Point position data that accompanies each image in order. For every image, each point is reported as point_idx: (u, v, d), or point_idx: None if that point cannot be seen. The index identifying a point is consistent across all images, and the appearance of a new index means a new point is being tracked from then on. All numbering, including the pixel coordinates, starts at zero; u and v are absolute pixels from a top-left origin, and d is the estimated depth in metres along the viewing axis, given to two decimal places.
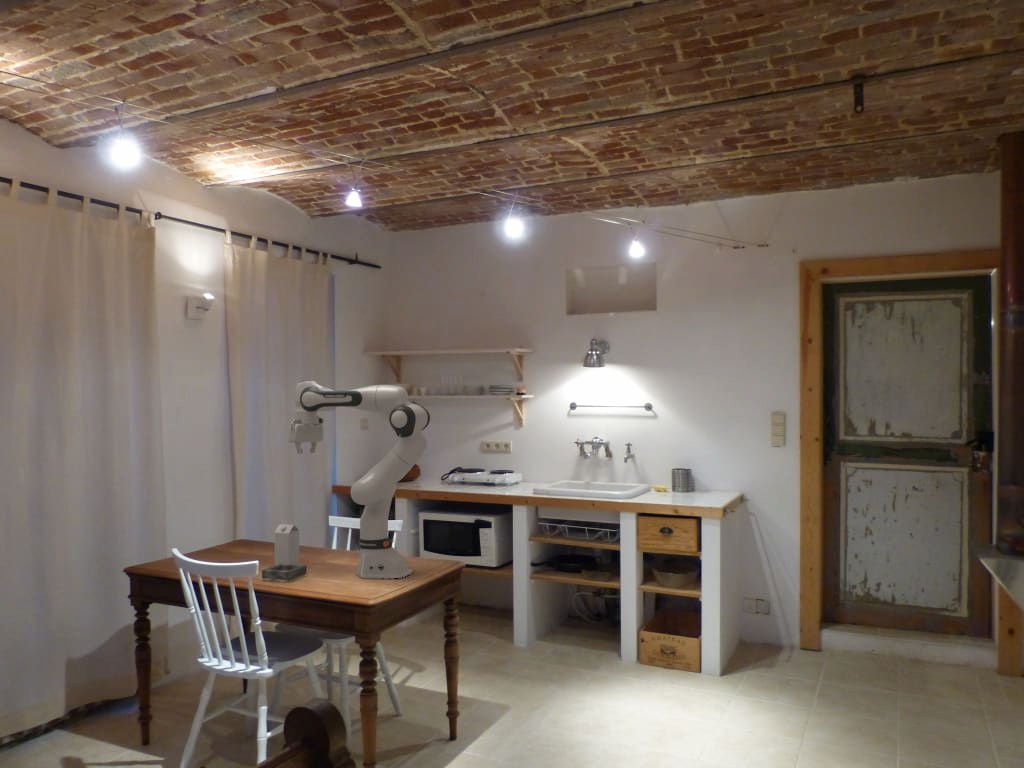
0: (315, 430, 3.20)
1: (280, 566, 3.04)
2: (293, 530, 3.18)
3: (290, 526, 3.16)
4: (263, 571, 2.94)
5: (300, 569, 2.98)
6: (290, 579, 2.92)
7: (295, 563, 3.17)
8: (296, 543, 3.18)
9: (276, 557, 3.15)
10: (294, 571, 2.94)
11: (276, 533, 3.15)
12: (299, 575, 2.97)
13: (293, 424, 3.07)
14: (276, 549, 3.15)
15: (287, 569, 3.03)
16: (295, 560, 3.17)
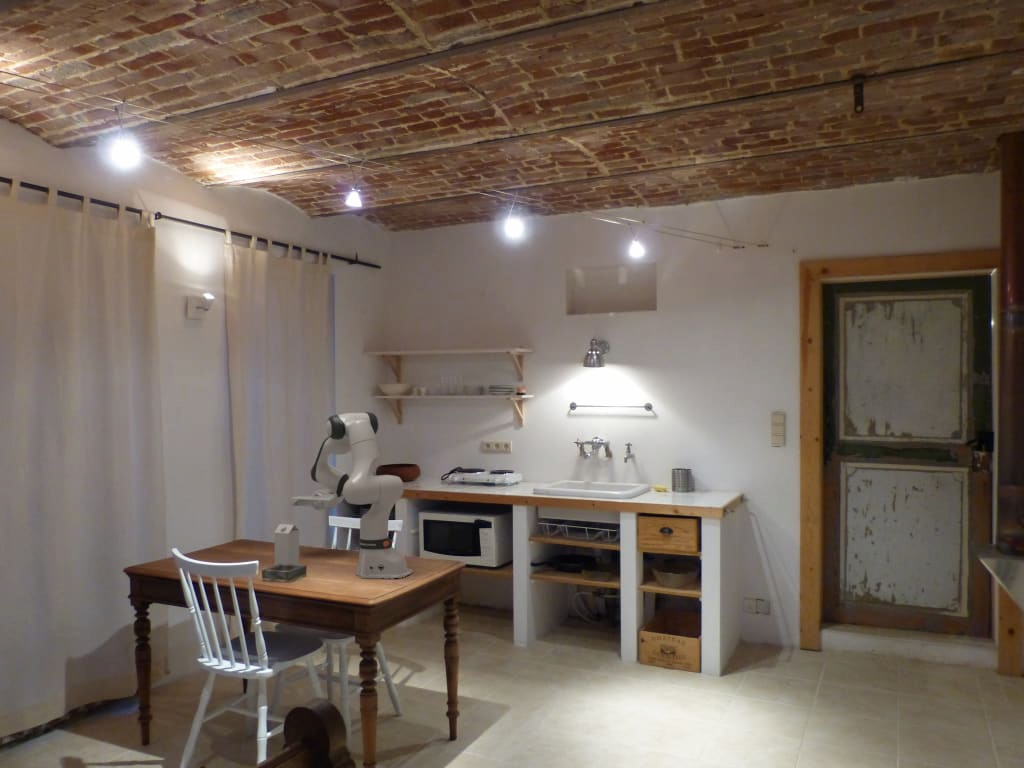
0: (323, 498, 3.38)
1: (280, 566, 3.04)
2: (293, 530, 3.18)
3: (290, 526, 3.16)
4: (263, 571, 2.94)
5: (300, 569, 2.98)
6: (290, 579, 2.92)
7: (295, 563, 3.17)
8: (296, 543, 3.18)
9: (276, 557, 3.15)
10: (294, 571, 2.94)
11: (276, 533, 3.15)
12: (299, 575, 2.97)
13: None
14: (276, 549, 3.15)
15: (287, 569, 3.03)
16: (295, 560, 3.17)
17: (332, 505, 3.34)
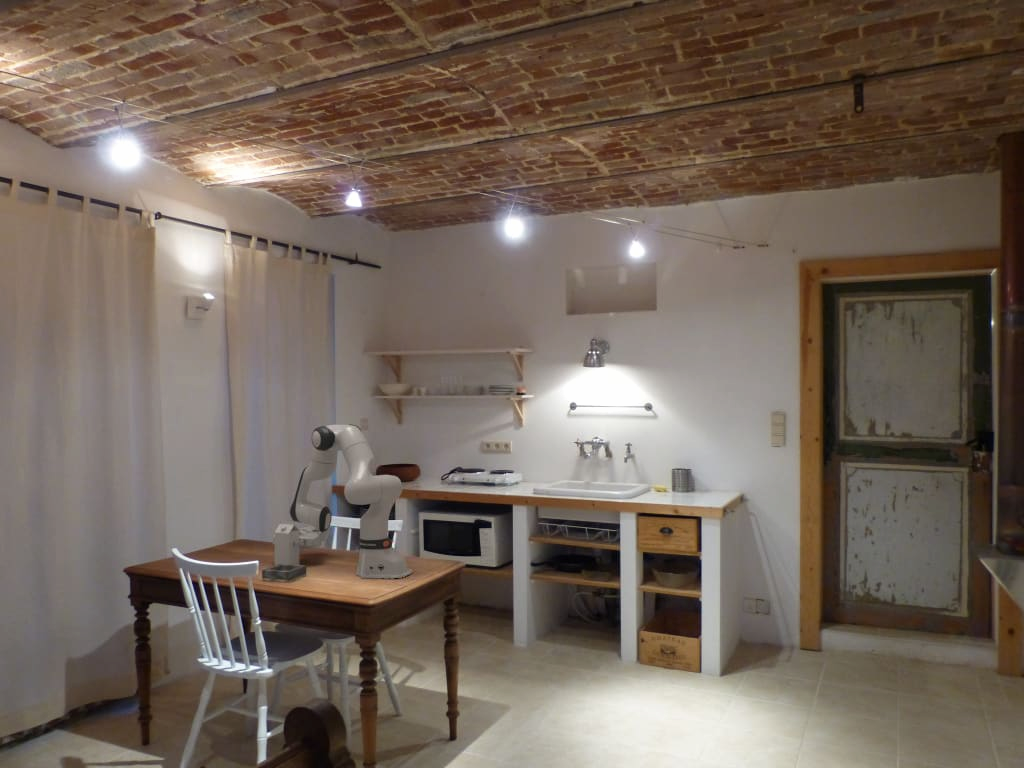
0: (307, 536, 3.25)
1: (280, 566, 3.04)
2: (293, 530, 3.18)
3: (290, 526, 3.16)
4: (263, 571, 2.94)
5: (300, 569, 2.98)
6: (290, 579, 2.92)
7: (295, 563, 3.17)
8: None
9: (276, 557, 3.15)
10: (294, 571, 2.94)
11: (276, 533, 3.15)
12: (299, 575, 2.97)
13: None
14: (276, 549, 3.15)
15: (287, 569, 3.03)
16: (295, 560, 3.17)
17: (316, 544, 3.21)
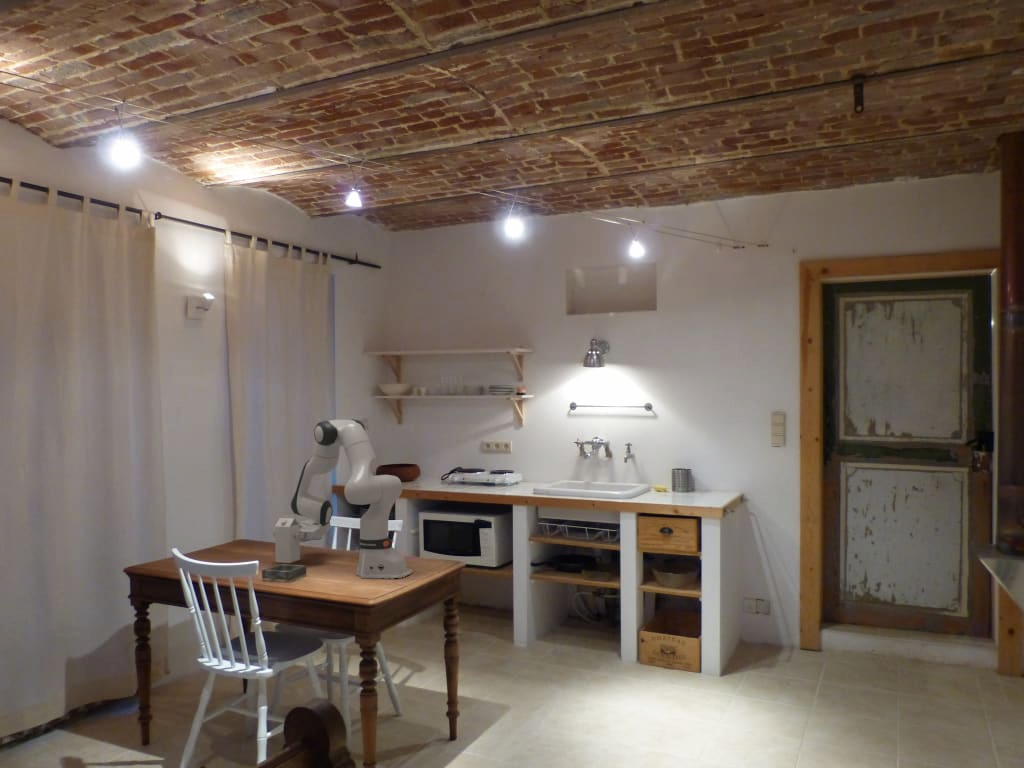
0: (307, 529, 3.25)
1: (280, 566, 3.04)
2: (293, 524, 3.18)
3: (290, 520, 3.16)
4: (263, 571, 2.94)
5: (300, 569, 2.98)
6: (290, 579, 2.92)
7: (296, 557, 3.17)
8: None
9: (277, 551, 3.15)
10: (294, 571, 2.94)
11: (276, 527, 3.15)
12: (299, 575, 2.97)
13: None
14: (277, 543, 3.15)
15: (287, 569, 3.03)
16: (296, 554, 3.17)
17: (316, 537, 3.21)
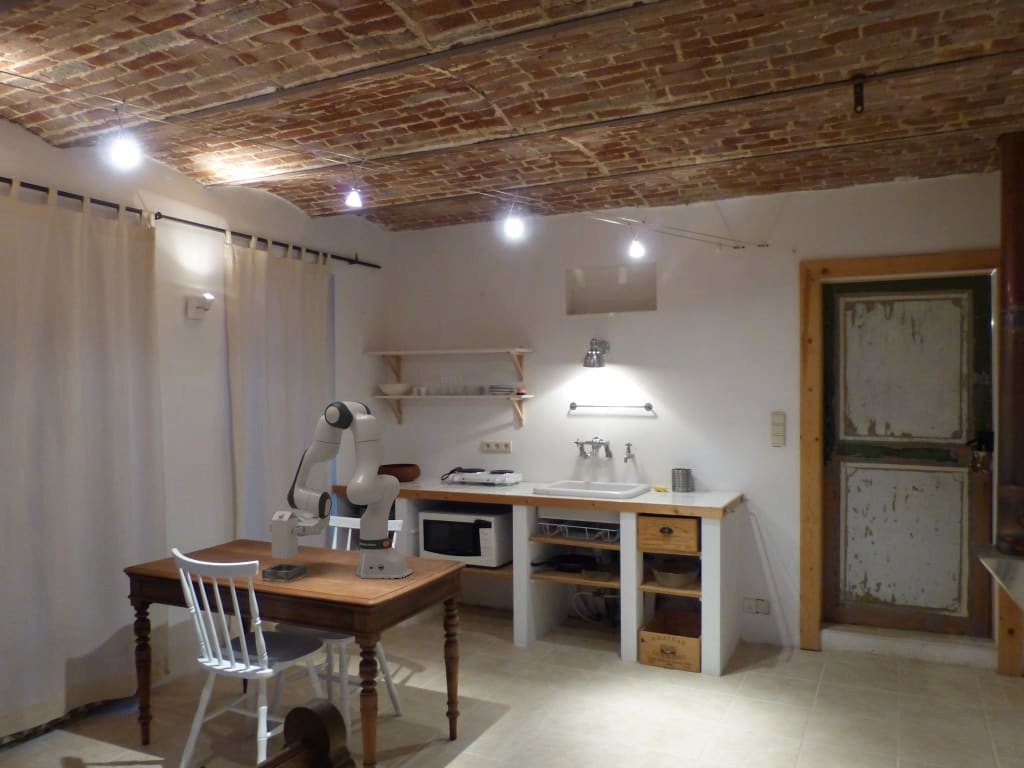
0: (306, 523, 3.06)
1: (280, 566, 3.04)
2: (291, 517, 2.99)
3: (288, 513, 2.97)
4: (263, 571, 2.94)
5: (300, 569, 2.98)
6: (290, 579, 2.92)
7: (293, 552, 2.98)
8: None
9: (273, 546, 2.96)
10: (294, 571, 2.94)
11: (273, 520, 2.96)
12: (299, 575, 2.97)
13: None
14: (273, 537, 2.96)
15: (287, 569, 3.03)
16: (293, 549, 2.98)
17: (315, 531, 3.02)
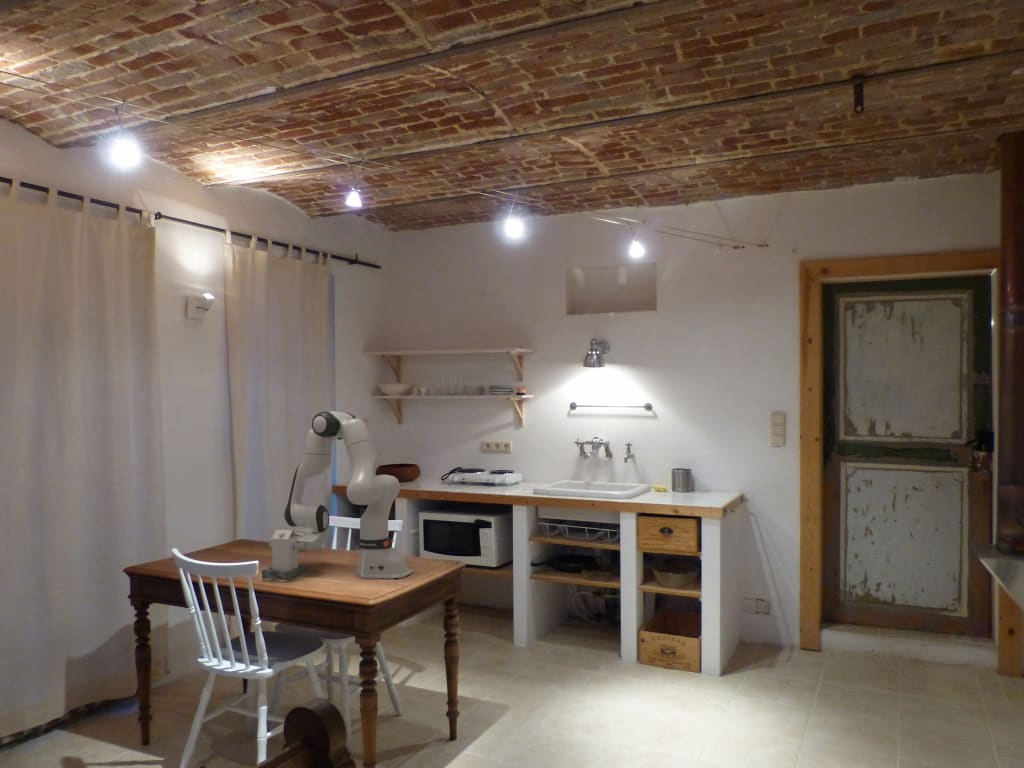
0: (306, 538, 3.06)
1: None
2: (292, 535, 2.99)
3: (289, 531, 2.97)
4: (263, 571, 2.94)
5: (300, 569, 2.98)
6: (290, 579, 2.92)
7: None
8: (295, 549, 2.99)
9: (274, 565, 2.95)
10: (294, 571, 2.94)
11: (274, 539, 2.96)
12: (299, 575, 2.97)
13: None
14: (274, 556, 2.95)
15: None
16: (294, 568, 2.98)
17: (315, 547, 3.02)
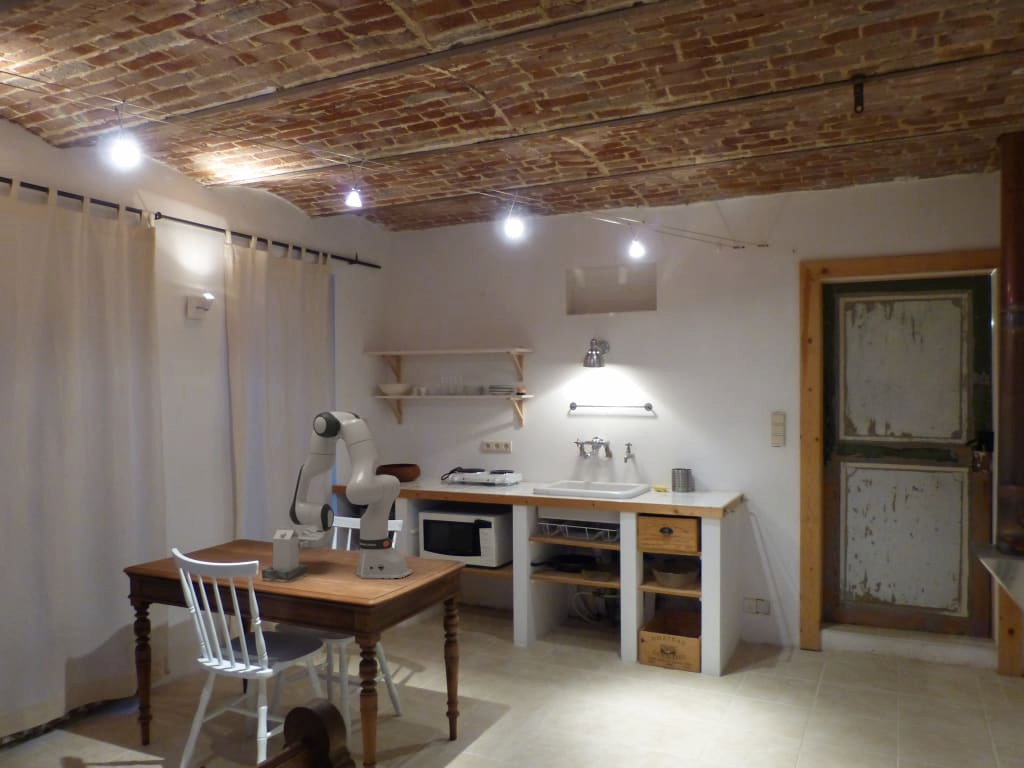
0: (311, 537, 3.09)
1: None
2: (293, 536, 2.99)
3: (290, 532, 2.97)
4: (263, 571, 2.94)
5: (300, 569, 2.98)
6: (290, 579, 2.92)
7: None
8: (296, 549, 2.99)
9: (275, 565, 2.95)
10: (294, 571, 2.94)
11: (275, 539, 2.96)
12: (299, 575, 2.97)
13: None
14: (275, 556, 2.95)
15: None
16: None
17: (320, 545, 3.05)
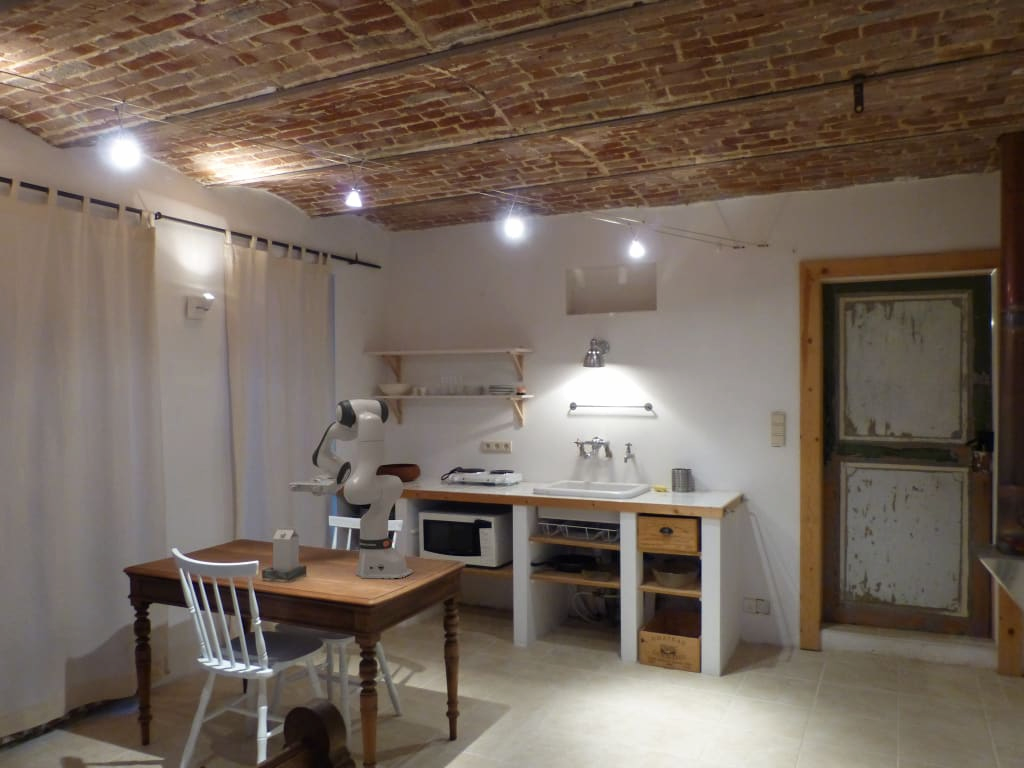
0: (323, 483, 3.30)
1: None
2: (293, 536, 2.99)
3: (290, 532, 2.97)
4: (263, 571, 2.94)
5: (300, 569, 2.98)
6: (290, 579, 2.92)
7: None
8: (296, 549, 2.99)
9: (275, 565, 2.95)
10: (294, 571, 2.94)
11: (275, 539, 2.96)
12: (299, 575, 2.97)
13: None
14: (275, 556, 2.95)
15: None
16: None
17: (331, 490, 3.26)
